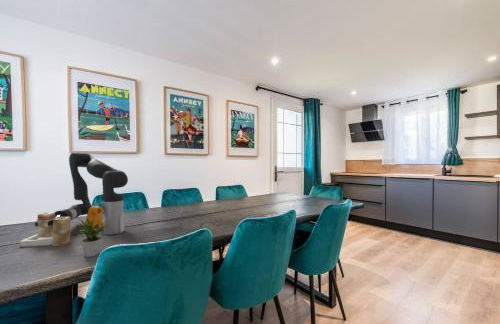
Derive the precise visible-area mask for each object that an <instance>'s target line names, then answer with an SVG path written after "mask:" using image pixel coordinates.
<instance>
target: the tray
mask: <svg viewBox="0 0 500 324" xmlns="http://www.w3.org/2000/svg"><path fill="white" fill-rule="evenodd" d="M39 246H53V236H51V237H48V238H38V233H36V234H34V235H32V236H29V237H26V238H24V239H22V240H20V241H19V247H20V248H21V247H39Z"/></svg>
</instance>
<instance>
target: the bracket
mask: <svg viewBox="0 0 500 324" xmlns="http://www.w3.org/2000/svg"><path fill="white" fill-rule="evenodd" d="M103 213H104V207H102V206H99V205H91V207H90V208H89V211H88V214H87V215H86V217H87V218H88V219H89V220H90V221H91V222H92V220H93V218H95V219H94V220H93V226H92V227H93V229H94V227H95V225H96V224H97V223H99V221H100V219H101V221H100V223H99V226H100V225H101V224H102V223H103V222H104V219H103V217H102V214H103ZM87 218H85V221H84V223H85V224H87ZM87 225H88V224H87ZM83 226H84V225H83ZM84 227H85V226H84ZM84 227H83V228H84ZM98 228H99V227H98ZM98 228H97V229H98ZM102 228H104V223H103V224H102V225H101V226H100V228H99V229H102Z"/></svg>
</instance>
